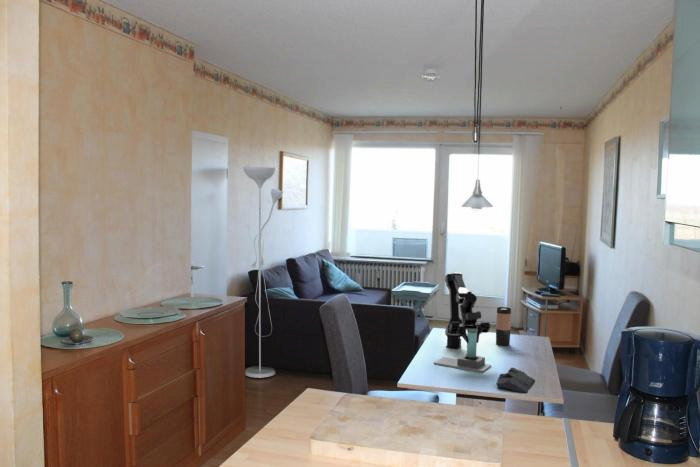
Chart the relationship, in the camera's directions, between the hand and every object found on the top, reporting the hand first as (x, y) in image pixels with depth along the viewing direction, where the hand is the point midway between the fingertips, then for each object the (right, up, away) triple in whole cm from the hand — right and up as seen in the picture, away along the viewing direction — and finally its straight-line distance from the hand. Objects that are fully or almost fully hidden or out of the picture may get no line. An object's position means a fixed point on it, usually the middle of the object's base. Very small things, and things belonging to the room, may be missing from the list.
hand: (472, 342), depth 273 cm
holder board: (-4, -11, +3) cm, 13 cm away
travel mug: (+26, -10, +46) cm, 53 cm away
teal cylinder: (0, -7, +2) cm, 7 cm away
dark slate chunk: (+13, -14, -23) cm, 30 cm away
